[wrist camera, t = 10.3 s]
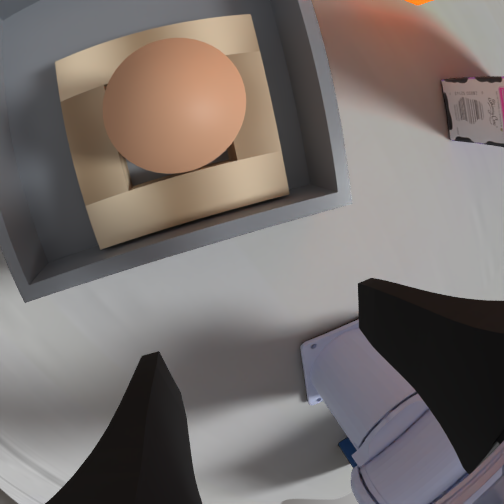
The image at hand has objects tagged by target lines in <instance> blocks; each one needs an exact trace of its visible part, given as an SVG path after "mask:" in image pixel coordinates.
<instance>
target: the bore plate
mask: <svg viewBox="0 0 504 504" xmlns="http://www.w3.org/2000/svg"><path fill="white" fill-rule="evenodd" d="M167 38H189V39H195V40H199V41H202V42H205V43H207V44H209V45H212V46H213V47H215V48H217V49H218V50H220V51H221V52H222V53H223V54H225V55H226V56H227V57H228V58H229V59H230V60H231V61H232V62H233V64H234V65H235V67H236V68H237V70H238V72H239V73H240V75H241V78H242V80H243V83H244V87H245V92H246V112H245V116H244V120H243V123H242V126H241V129H240V131H239V133H238V134H237V136H236V138H235V139H234V141H233V142H232V144H231V145H230V146H229V147H228V148H227V151H228V156H229V159H228V160H224V161H220V162H216V163H212V164H208V165H204V166H203V167H200V168H197V169H195V170H192V171H188V172H183V173H175V174H171V175H168V176H164V177H161V178H158V179H154V180H151V181H148V182H145V183H142V184H138V185H135V186H133V184H132V181H131V177H130V173H129V170H128V166H127V162H126V158H125V157H123V156H122V155H121V154H120V153H119V152H118V151H117V149H116V148H115V147H114V145H113V144H112V142H111V141H110V139H109V137H108V135H107V132H106V129H105V126H104V121H103V110H102V108H103V98H104V94H105V90H106V88H107V85H108V82H109V80H110V78H111V77H112V75H113V73H114V72H115V70H116V69H117V68H118V66H119V65H120V64H121V63H122V62H123V61H124V60H125V59H126V58H127V57H128V56H129V55H131V54H132V53H133V52H135V51H136V50H138V49H139V48H141V47H143V46H145V45H147V44H149V43H152V42H155V41H158V40H163V39H167ZM55 67H56V75H57V83H58V89H59V96H60V102H61V108H62V113H63V119H64V124H65V129H66V134H67V138H68V143H69V147H70V151H71V156H72V160H73V164H74V167H75V171H76V175H77V179H78V182H79V186H80V189H81V193H82V196H83V199H84V203H85V206H86V209H87V212H88V215H89V219H90V222H91V225H92V227H93V230H94V233H95V236H96V239H97V242H98V245H99V247H100V250H101V249H104V248H107V247H110V246H113V245H116V244H119V243H122V242H125V241H128V240H131V239H135V238H138V237H141V236H144V235H147V234H150V233H154V232H157V231H160V230H163V229H167V228H170V227H173V226H177V225H180V224H183V223H187V222H190V221H193V220H197V219H200V218H204V217H207V216H211V215H214V214H218V213H221V212H225V211H228V210H232V209H236V208H239V207H243V206H247V205H250V204H254V203H258V202H262V201H265V200H269V199H273V198H277V197H281V196H285V195H289V188H288V183H287V177H286V172H285V166H284V161H283V156H282V151H281V145H280V140H279V135H278V130H277V125H276V121H275V116H274V111H273V106H272V102H271V97H270V93H269V88H268V84H267V79H266V75H265V70H264V66H263V62H262V58H261V53H260V49H259V45H258V41H257V37H256V33H255V29H254V25H253V21H252V17H251V14H244V15H232V16H223V17H214V18H207V19H200V20H194V21H188V22H182V23H177V24H172V25H167V26H162V27H158V28H154V29H149V30H145V31H141V32H138V33H134V34H130V35H127V36H124V37H120V38H117V39H114V40H111V41H108V42H105V43H102V44H99V45H96V46H93V47H90V48H88V49H85V50H82V51H80V52H77V53H75V54H72V55H70V56H67V57H65V58H63V59H60V60H58V61H56V62H55Z"/></svg>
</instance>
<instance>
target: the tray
mask: <svg viewBox="0 0 504 504" xmlns="http://www.w3.org/2000/svg"><path fill="white" fill-rule="evenodd" d="M244 14H251V17H252V21H253V25H254V29H255V33H256V37H257V41H258V45H259V49H260V53H261V58H262V62H263V66H264V70H265V75H266V79H267V84H268V88H269V93H270V97H271V102H272V106H273V111H274V116H275V121H276V125H277V130H278V135H279V140H280V145H281V151H282V156H283V161H284V166H285V172H286V177H287V183H288V188H289V195H285V196H281V197H277V198H273V199H269V200H265V201H262V202H258V203H254V204H250V205H247V206H243V207H239V208H236V209H232V210H228V211H225V212H221V213H218V214H214V215H211V216H207V217H204V218H200V219H197V220H193V221H190V222H187V223H183V224H180V225H177V226H173V227H170V228H167V229H163V230H160V231H157V232H154V233H150V234H147V235H144V236H141V237H138V238H135V239H131V240H128V241H125V242H122V243H119V244H116V245H113V246H110V247H107V248H104V249H101V250H100V247H99V245H98V242H97V239H96V236H95V233H94V230H93V227H92V225H91V222H90V219H89V215H88V212H87V209H86V206H85V203H84V199H83V196H82V193H81V189H80V186H79V182H78V179H77V175H76V171H75V167H74V164H73V160H72V156H71V151H70V147H69V143H68V138H67V134H66V129H65V124H64V119H63V113H62V108H61V102H60V96H59V89H58V83H57V75H56V67H55V62H56V61H58V60H60V59H63V58H65V57H67V56H70V55H72V54H75V53H77V52H80V51H82V50H85V49H88V48H90V47H93V46H96V45H99V44H102V43H105V42H108V41H111V40H114V39H117V38H120V37H124V36H127V35H130V34H134V33H138V32H141V31H145V30H149V29H154V28H158V27H162V26H167V25H172V24H177V23H182V22H188V21H194V20H200V19H207V18H214V17H223V16H232V15H244ZM228 159H229V156H228V151H227V149H226V151H224V152H223V153H222V154H221V155H220V156H219V157H217V158H216V159H215V160H213V161H212V162H210V163H208V164H212V163H216V162H220V161H224V160H228ZM126 162H127V166H128V170H129V173H130V177H131V181H132V184H133V186H135V185H138V184H142V183H145V182H148V181H151V180H154V179H158V178H161V177H164V176H168V175H171V174H165V173H157V172H152V171H148V170H145V169H143V168H141V167H138V166H136V165H135V164H133V163H131V162H130V161H128V160H127V159H126ZM208 164H206V165H208ZM349 204H352V196H351V187H350V179H349V172H348V164H347V157H346V150H345V144H344V138H343V132H342V126H341V120H340V115H339V109H338V104H337V99H336V94H335V89H334V85H333V80H332V76H331V71H330V67H329V63H328V59H327V54H326V50H325V47H324V43H323V39H322V35H321V31H320V28H319V24H318V21H317V17H316V14H315V11H314V7H313V4H312V1H311V0H0V247H1V250H2V252H3V255H4V258H5V260H6V262H7V265H8V267H9V270H10V272H11V274H12V277H13V279H14V281H15V283H16V286H17V288H18V290H19V292H20V294H21V296H22V298H23V300H24V302H25V303H26V302H29V301H32V300H35V299H38V298H41V297H44V296H47V295H50V294H53V293H56V292H59V291H62V290H65V289H68V288H71V287H74V286H77V285H80V284H84V283H87V282H90V281H93V280H96V279H99V278H102V277H105V276H109V275H112V274H115V273H118V272H121V271H124V270H128V269H131V268H134V267H137V266H140V265H144V264H147V263H150V262H153V261H157V260H160V259H163V258H166V257H170V256H173V255H176V254H179V253H183V252H186V251H189V250H193V249H196V248H199V247H203V246H206V245H209V244H213V243H216V242H219V241H223V240H226V239H230V238H233V237H236V236H240V235H243V234H247V233H250V232H254V231H257V230H260V229H264V228H267V227H271V226H274V225H278V224H281V223H285V222H288V221H292V220H295V219H299V218H303V217H306V216H310V215H313V214H317V213H320V212H324V211H328V210H331V209H335V208H338V207H342V206H346V205H349Z"/></svg>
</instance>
